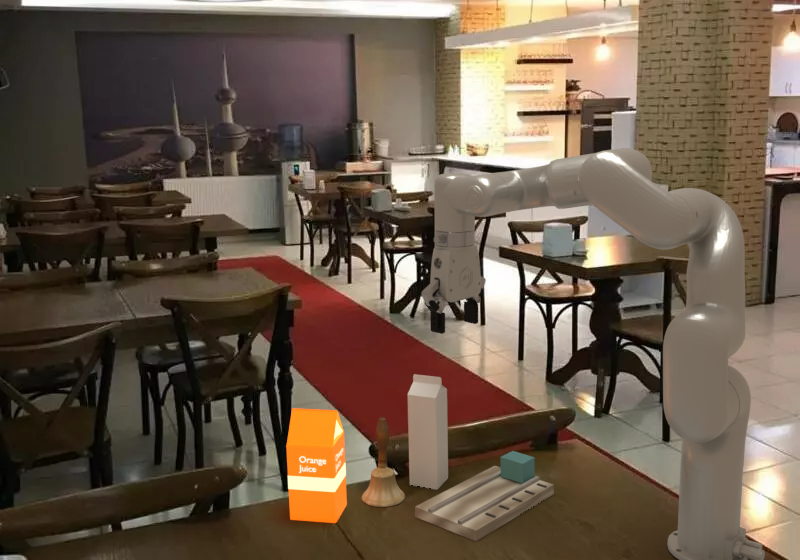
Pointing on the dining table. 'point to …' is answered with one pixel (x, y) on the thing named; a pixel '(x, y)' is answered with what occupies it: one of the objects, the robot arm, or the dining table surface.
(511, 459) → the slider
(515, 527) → the dining table surface
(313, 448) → the orange juice
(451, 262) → the robot arm
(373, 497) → the hand bell
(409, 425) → the milk
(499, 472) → the count board
